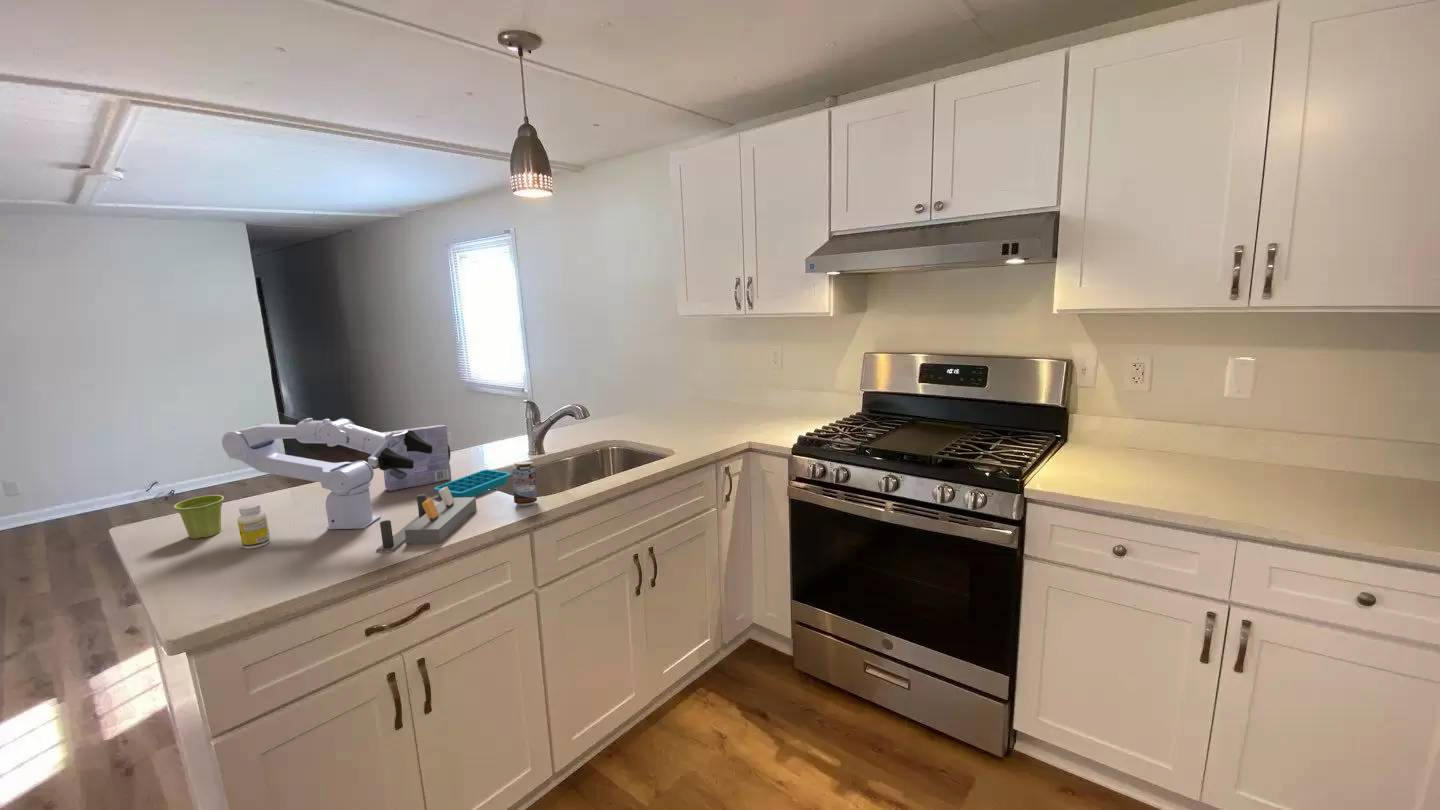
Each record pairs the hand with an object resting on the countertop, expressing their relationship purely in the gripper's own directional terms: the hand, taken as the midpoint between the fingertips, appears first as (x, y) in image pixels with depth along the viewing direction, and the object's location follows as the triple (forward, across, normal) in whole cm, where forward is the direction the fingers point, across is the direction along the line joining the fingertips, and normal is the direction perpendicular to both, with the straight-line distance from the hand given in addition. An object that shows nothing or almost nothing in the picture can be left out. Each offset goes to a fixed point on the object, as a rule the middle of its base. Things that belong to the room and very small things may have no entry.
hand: (422, 457), depth 149 cm
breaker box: (+8, -4, +16) cm, 18 cm away
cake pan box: (-17, +25, +31) cm, 43 cm away
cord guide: (+2, -9, +17) cm, 19 cm away
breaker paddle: (+8, -7, +11) cm, 15 cm away
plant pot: (-47, -17, +30) cm, 58 cm away
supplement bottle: (-29, -20, +23) cm, 42 cm away
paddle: (+7, +1, +13) cm, 15 cm away
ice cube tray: (+2, +23, +25) cm, 34 cm away
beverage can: (+23, +13, +16) cm, 31 cm away
